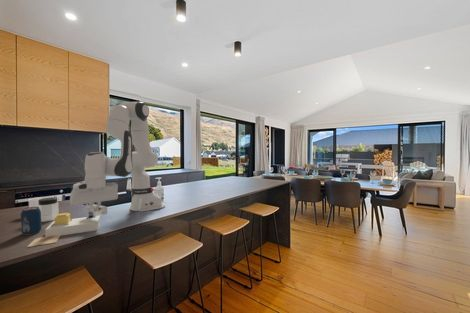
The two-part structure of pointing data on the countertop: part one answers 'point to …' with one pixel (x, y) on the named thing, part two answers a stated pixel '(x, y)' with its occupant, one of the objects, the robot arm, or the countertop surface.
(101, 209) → the t key
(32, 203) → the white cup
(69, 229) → the latch box
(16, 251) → the countertop surface
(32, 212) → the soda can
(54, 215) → the jar
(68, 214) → the snap cover
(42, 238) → the cork pad
